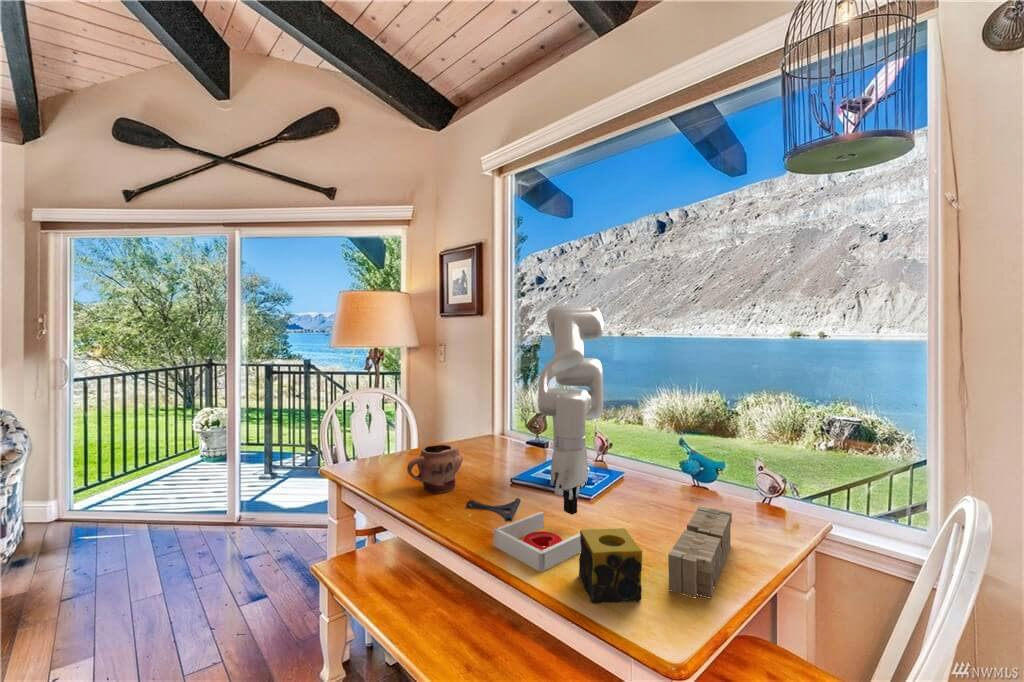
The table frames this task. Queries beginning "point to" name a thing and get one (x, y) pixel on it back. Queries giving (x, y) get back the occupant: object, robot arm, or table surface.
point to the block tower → (700, 553)
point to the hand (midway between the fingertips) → (570, 512)
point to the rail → (528, 554)
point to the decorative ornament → (542, 539)
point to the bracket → (497, 508)
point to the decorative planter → (437, 467)
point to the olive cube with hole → (610, 565)
